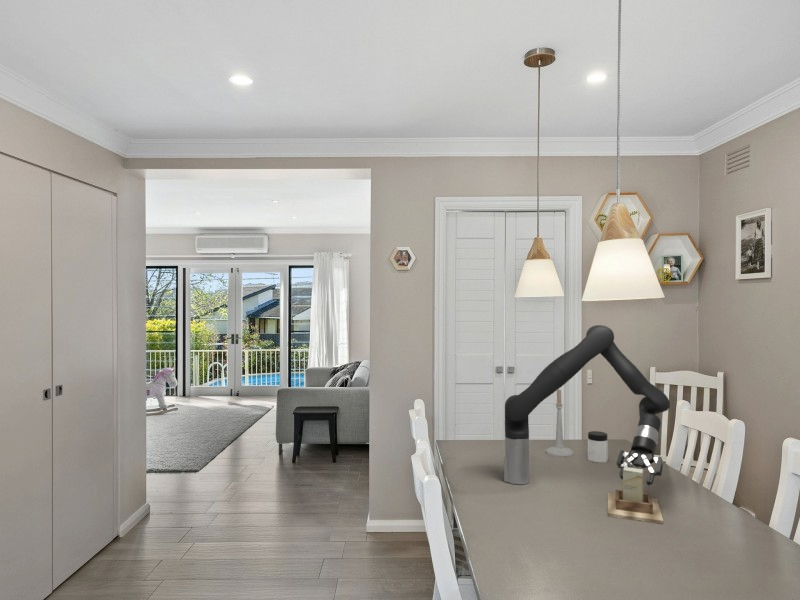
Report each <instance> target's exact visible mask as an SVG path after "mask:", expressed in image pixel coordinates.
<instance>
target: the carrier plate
mask: <svg viewBox="0 0 800 600" xmlns="http://www.w3.org/2000/svg"><path fill="white" fill-rule="evenodd" d="M607 517H610V518H616V517H617V519H623V518H625V520H631V519H633V520H632V521H638V520H641V521H640V522H645V521H649V522H648V523H652V522H657V523H656V524H659V523H663V524H664V518H663V516H662V512H661V508H660V505H659V500H658V498H653V497H652V496H651V493H649V492H648V493H647V492H643V503H642V502H634V501H626V500H623V489H622V490H621V489H615V493H610V492H607Z"/></svg>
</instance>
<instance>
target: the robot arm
mask: <svg viewBox="0 0 800 600" xmlns="http://www.w3.org/2000/svg"><path fill="white" fill-rule="evenodd" d="M614 340H615V333H614V331H613V330H612V328H610V327H608V326H606V325H602V324H598V325H592V326H590V327H589V328H588V330H587V331H586V335H585V337H584V338H583V339H582V340H581V341H580V342H579V343H577V345H576V346H574V347H573V348H572V349H570V350H568V351H566V352H564V353H563V354H561V355H560V356H558V357H557V358H555V359H554V360H553V361H552V362H551V363H549V364H548V365H547V366H546V367H544V369H543V370H541V372H540V373H539V374H538V375H537V376H536V377H535V379H534V380H533V381H532V383H530V385H529V386H528V387H527V388H525V389H524V390H523V391H522V392H520V393H519V394H513V395H510V396H509V397H507V399H506V401H505V402H504V452H505V453H504V454H505V455H504V457H503V480H504V481H503V482H505V483H506V482H507V483H508V484H512V485H526V484H529V483H530V426H529V425H530V424H529V415H530V414H531V413H532V412H533V411H534V410H535V409H536V408H537V407H538V406H540V404H541V403H542V402H543V401H544V400H545V399H547V398H548V397H550V396H551V395H552V394H554V393H555V392H557V390H560V388H562V387H563V386H564V385H565V384H567V382H569V381H570V380H571V379H572V378H574V376H576V375H577V374H578V373H579V371H581V370H582V369H583V368H584V367H585V366H586V365H587V364H588V363H589V362H590V361H591V360H593V359H594V358H596V357H597V356H598V355H601V356H602V357H603V358H604V360H606V361H607V362H608V364H609V365H610V366H611V367H612V368H613V370H614V371H615V373H616V374H617V375H618V376H619V377H620V378H621V380H622V382H624V384H625V385H626V386H627V388H628V389H629V391H631V392H632V394H634V395H636V396H638V395H641V396H644V397H642V398H641V400H640V401H639V403H638V414H639V420H638V425H637V428H636V430H635V433H634V436H633V440H632V443H631V447H630V448H631V449H630V451H629V452H626V451H624V450H623V449H621V450H620V451H619V454H618V457H617V460H616V462H615V463H616V466H617V468H619V469H620V470H619V473H618V475H619V477H620V479H621V480H622V481H623V468H624V467H629V468H634V467H635V468H640V469H647V470H648V471H649V472H648V475H647V477H646V478H647V479H646V484H647V486H651V485H653V484H654V480H655V477H656V476H658V477H661V476H662V472H663V467H664V460H663V457H662V456H658V457H655V455H656V454H655V453H656V449H657V445H658V441H659V433H660V428H661V424H662V423H661V419H660V417H659V416H657V414H660V413H664V412H666V411H668V410H669V409H670V406H671V404H670V403H671V402H670V400H669V398H668V396H667V395H666V394H665V393H664V392H663V391H662V390H661V389H660V388H658V387H656V386H655V385H654V384H652V383H651V382H649V381H648V379H647V378H646V377H645V375H644V374H643V373H642V372H641V370H639V368H638V367H637V366H636V365H635V364H634V363H633V362H632V361H630V359H628V357H626V355H625V354H624V353H623V352H622V351H621V350H620V348H619V347H618V346H617V345H616V343H615V341H614ZM627 457H628V458H627ZM625 459H626V460H625ZM654 462H655V464H656V468H655V469H653V467H652V465H651V464H653V463H654Z"/></svg>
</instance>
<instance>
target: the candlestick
mask: <svg viewBox="0 0 800 600" xmlns="http://www.w3.org/2000/svg"><path fill="white" fill-rule="evenodd" d="M555 406H556V407H555V408H556V410H557V411H556V423H555V424H556V425H555V427H556V428H555V445H554V446H550V447H548V448H546V449H545V451H546V452H547V453H548V454H547V453H546V452H545V453H546V454H547V455H549V454H551V455H550V456H553V455H555V456H554V457H559V456H568V457H571V455H572V456H573V455H575V452H574V451H573V450H572V449H571V448H569V447H565V446H564V435H563V432H564V431H563V419H562V417H563V415H562V409H563V406H564V404H563V403H562V389H558V390H556V403H555Z"/></svg>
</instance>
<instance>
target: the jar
mask: <svg viewBox="0 0 800 600" xmlns="http://www.w3.org/2000/svg"><path fill="white" fill-rule="evenodd" d="M587 460H588V461H590V462H592V463H593V462H594V463H596V462H598V463H604V464H606V463H607V462H608V461H609V439H608V433H606V432H603V431H597V430H595V431H593V430H592V431H589V432H587Z"/></svg>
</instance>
